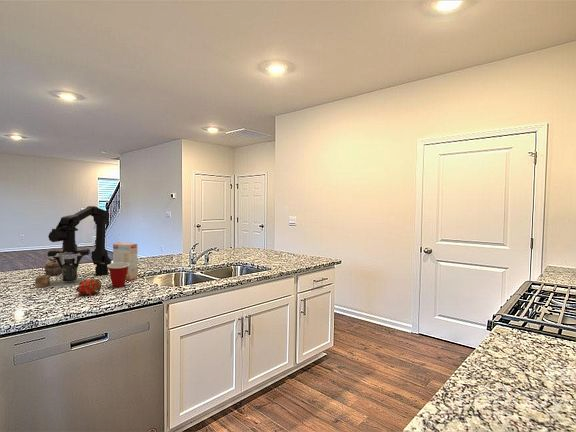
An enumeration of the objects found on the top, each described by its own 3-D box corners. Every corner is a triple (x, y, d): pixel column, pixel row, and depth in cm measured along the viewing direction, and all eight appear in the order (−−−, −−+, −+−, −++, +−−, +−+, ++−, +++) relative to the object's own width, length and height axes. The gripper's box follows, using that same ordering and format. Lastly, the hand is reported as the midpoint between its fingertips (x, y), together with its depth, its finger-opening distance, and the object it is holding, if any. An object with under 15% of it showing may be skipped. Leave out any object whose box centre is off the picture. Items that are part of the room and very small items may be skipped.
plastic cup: (107, 289, 174) (106, 266, 174) (107, 284, 184) (107, 263, 183) (130, 287, 179) (129, 265, 179) (129, 282, 189) (129, 261, 188)
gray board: (84, 281, 191) (84, 278, 191) (79, 287, 178) (79, 284, 178) (42, 283, 184) (42, 281, 184) (34, 290, 171) (33, 287, 171)
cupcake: (66, 274, 207) (66, 258, 206) (48, 277, 199) (48, 260, 198) (59, 272, 212) (59, 256, 211) (41, 275, 204) (41, 258, 203)
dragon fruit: (104, 295, 170) (78, 303, 161) (97, 283, 174) (71, 291, 165) (106, 284, 166) (79, 292, 157) (98, 272, 169) (72, 279, 160)
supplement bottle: (59, 280, 182) (59, 258, 181) (71, 278, 188) (71, 256, 187) (68, 282, 179) (67, 259, 179) (80, 279, 186) (79, 257, 185)
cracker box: (138, 278, 199) (137, 243, 198) (129, 280, 194) (129, 244, 193) (121, 276, 205) (121, 242, 204) (112, 278, 200) (112, 243, 198)
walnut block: (49, 284, 178) (49, 275, 178) (47, 286, 173) (46, 277, 173) (38, 285, 176) (38, 275, 176) (35, 287, 172) (35, 277, 171)
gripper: (91, 237, 193) (91, 264, 194) (52, 238, 186) (53, 266, 187) (87, 239, 183) (88, 268, 184) (46, 241, 176) (47, 270, 177)
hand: (69, 268), depth 183 cm, fingers closed on supplement bottle, 7 cm apart
